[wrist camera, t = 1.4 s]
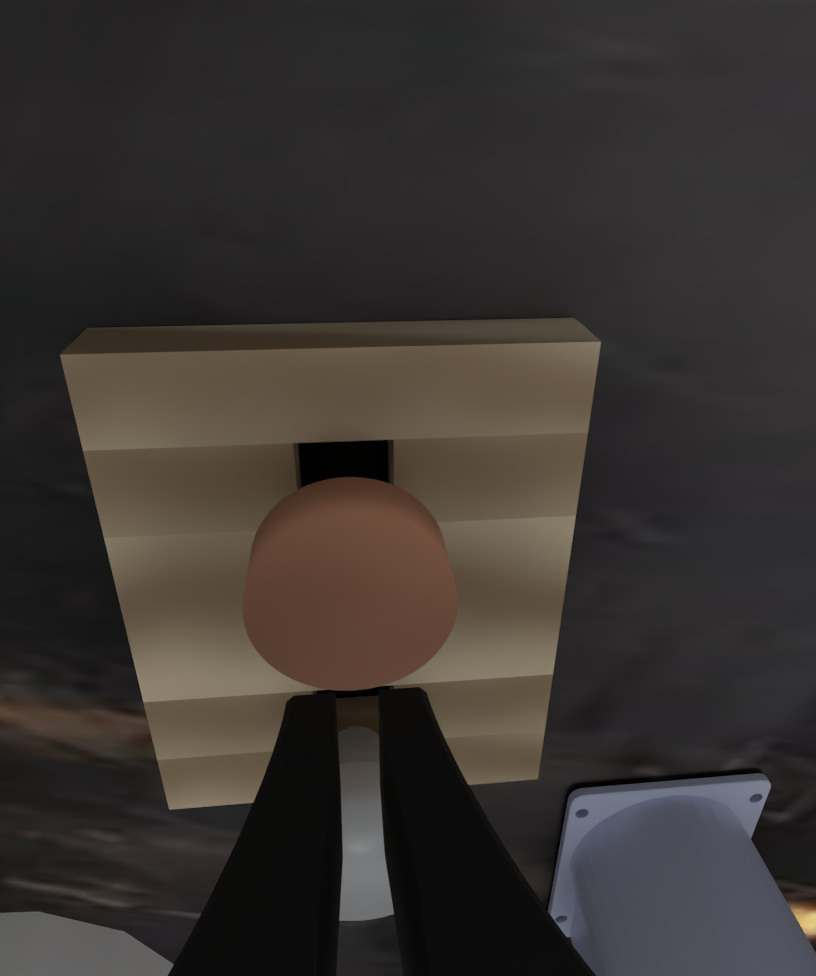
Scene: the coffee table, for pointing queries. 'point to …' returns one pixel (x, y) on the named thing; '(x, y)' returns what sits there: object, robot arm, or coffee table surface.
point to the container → (71, 949)
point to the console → (276, 474)
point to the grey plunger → (362, 828)
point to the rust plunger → (349, 585)
